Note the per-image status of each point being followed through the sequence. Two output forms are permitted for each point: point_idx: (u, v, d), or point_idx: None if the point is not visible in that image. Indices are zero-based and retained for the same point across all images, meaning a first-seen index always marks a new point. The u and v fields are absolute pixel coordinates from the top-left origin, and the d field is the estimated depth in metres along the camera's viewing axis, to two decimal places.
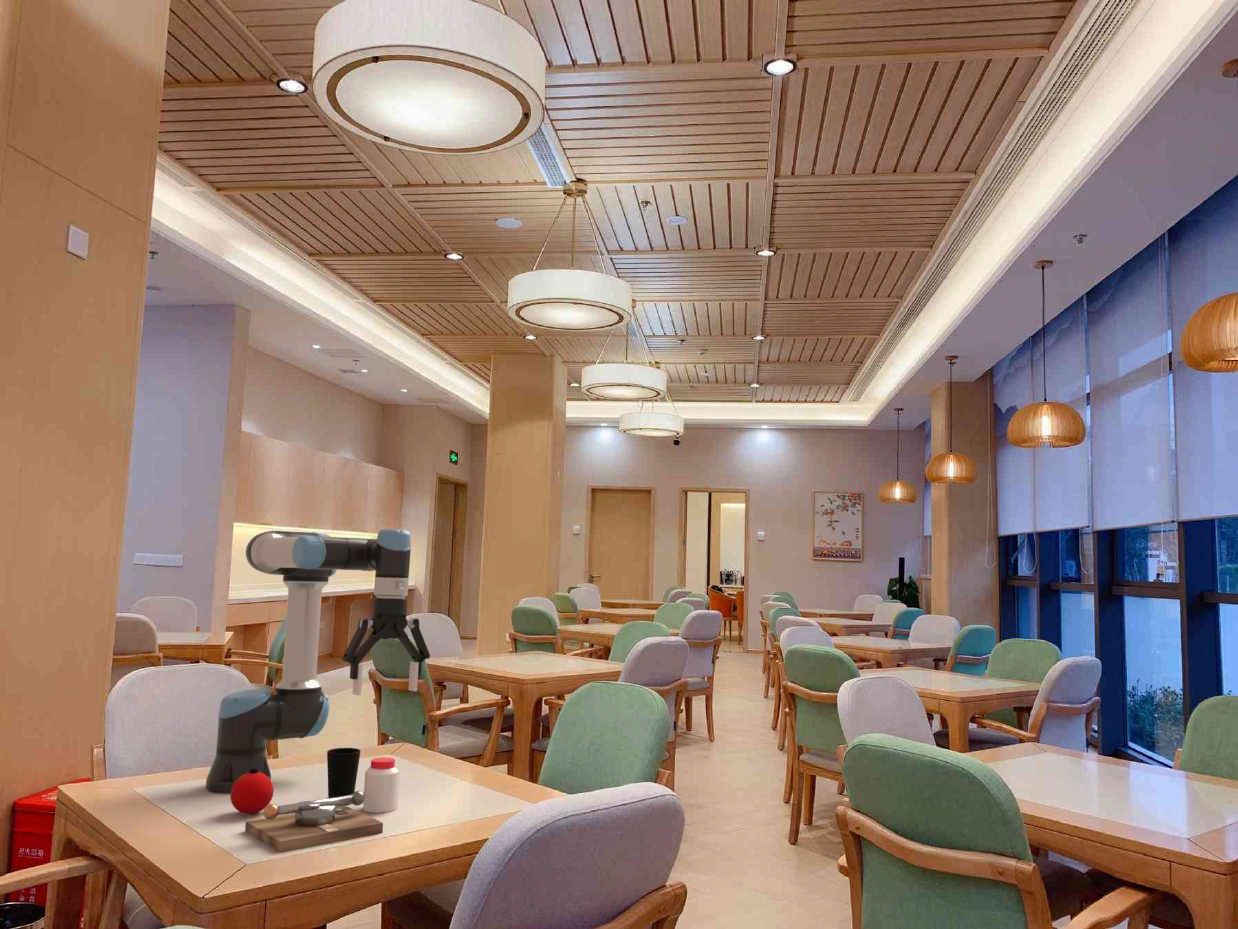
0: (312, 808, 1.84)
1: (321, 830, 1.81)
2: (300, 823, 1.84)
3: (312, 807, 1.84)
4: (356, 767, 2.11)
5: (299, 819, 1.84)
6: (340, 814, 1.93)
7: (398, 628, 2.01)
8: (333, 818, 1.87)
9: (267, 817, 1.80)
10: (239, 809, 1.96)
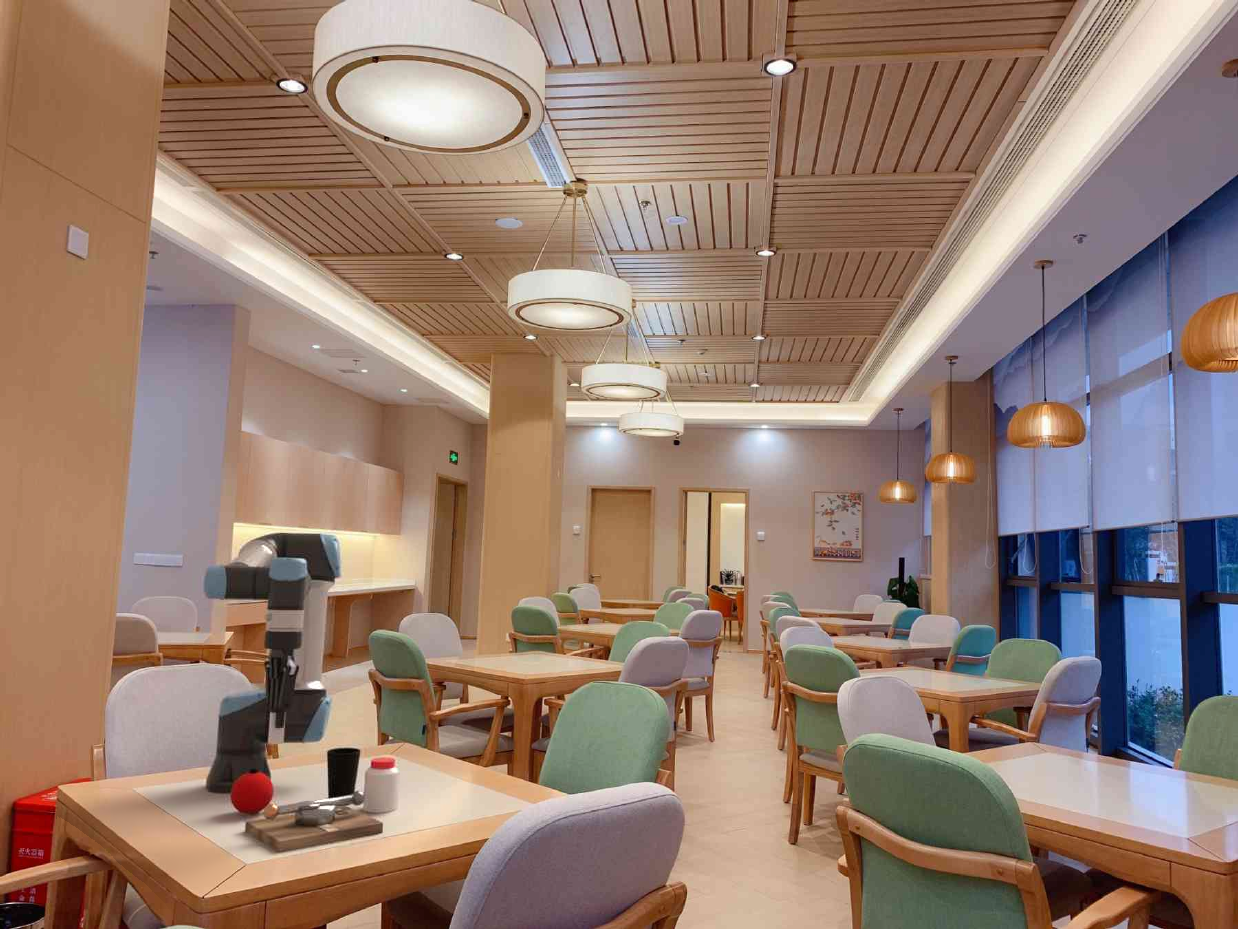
0: (312, 808, 1.84)
1: (321, 830, 1.81)
2: (300, 823, 1.84)
3: (312, 807, 1.84)
4: (356, 767, 2.11)
5: (299, 819, 1.84)
6: (340, 814, 1.93)
7: (274, 663, 1.88)
8: (333, 818, 1.87)
9: (267, 817, 1.80)
10: (239, 809, 1.96)
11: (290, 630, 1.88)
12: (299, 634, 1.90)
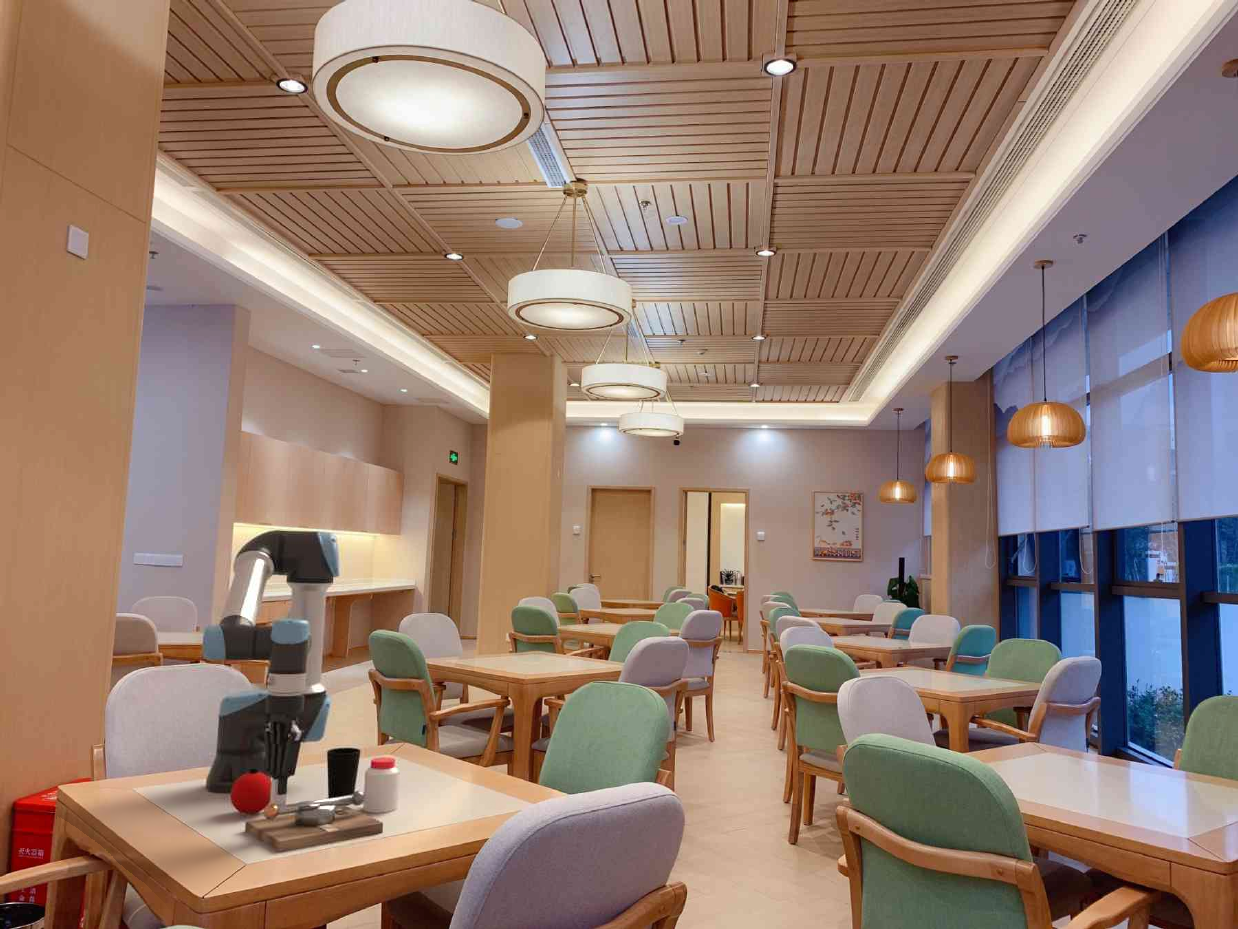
0: (312, 808, 1.84)
1: (321, 830, 1.81)
2: (300, 823, 1.84)
3: (312, 807, 1.84)
4: (356, 767, 2.11)
5: (299, 819, 1.84)
6: (340, 814, 1.93)
7: (277, 728, 1.84)
8: (333, 818, 1.87)
9: (267, 817, 1.80)
10: (239, 809, 1.96)
11: (294, 694, 1.85)
12: (302, 698, 1.87)
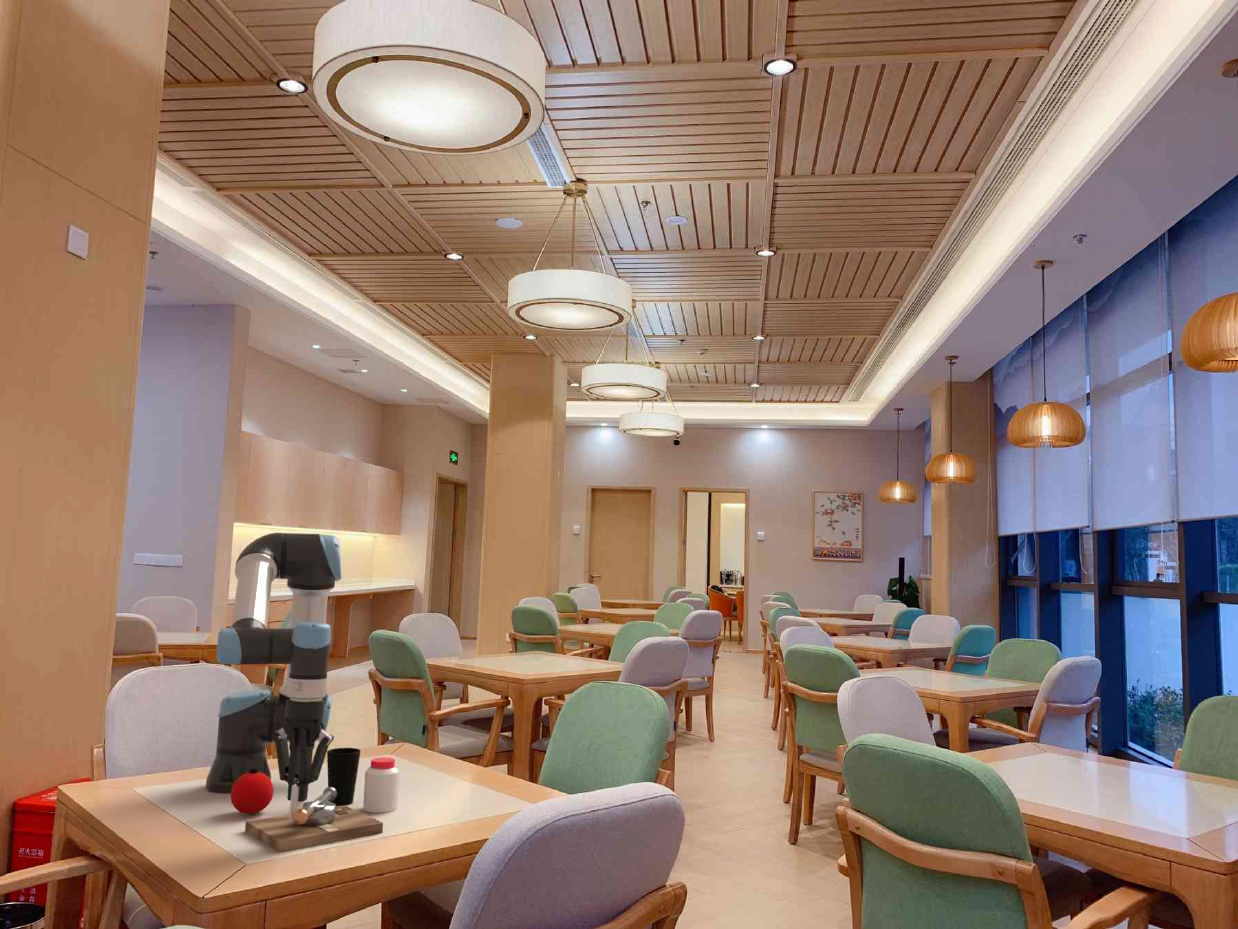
0: (325, 807, 1.86)
1: (321, 830, 1.81)
2: (315, 824, 1.83)
3: (324, 806, 1.86)
4: (356, 767, 2.11)
5: (314, 820, 1.83)
6: (340, 814, 1.93)
7: (302, 734, 1.80)
8: None
9: (302, 822, 1.77)
10: (239, 809, 1.96)
11: (320, 699, 1.83)
12: (324, 702, 1.84)
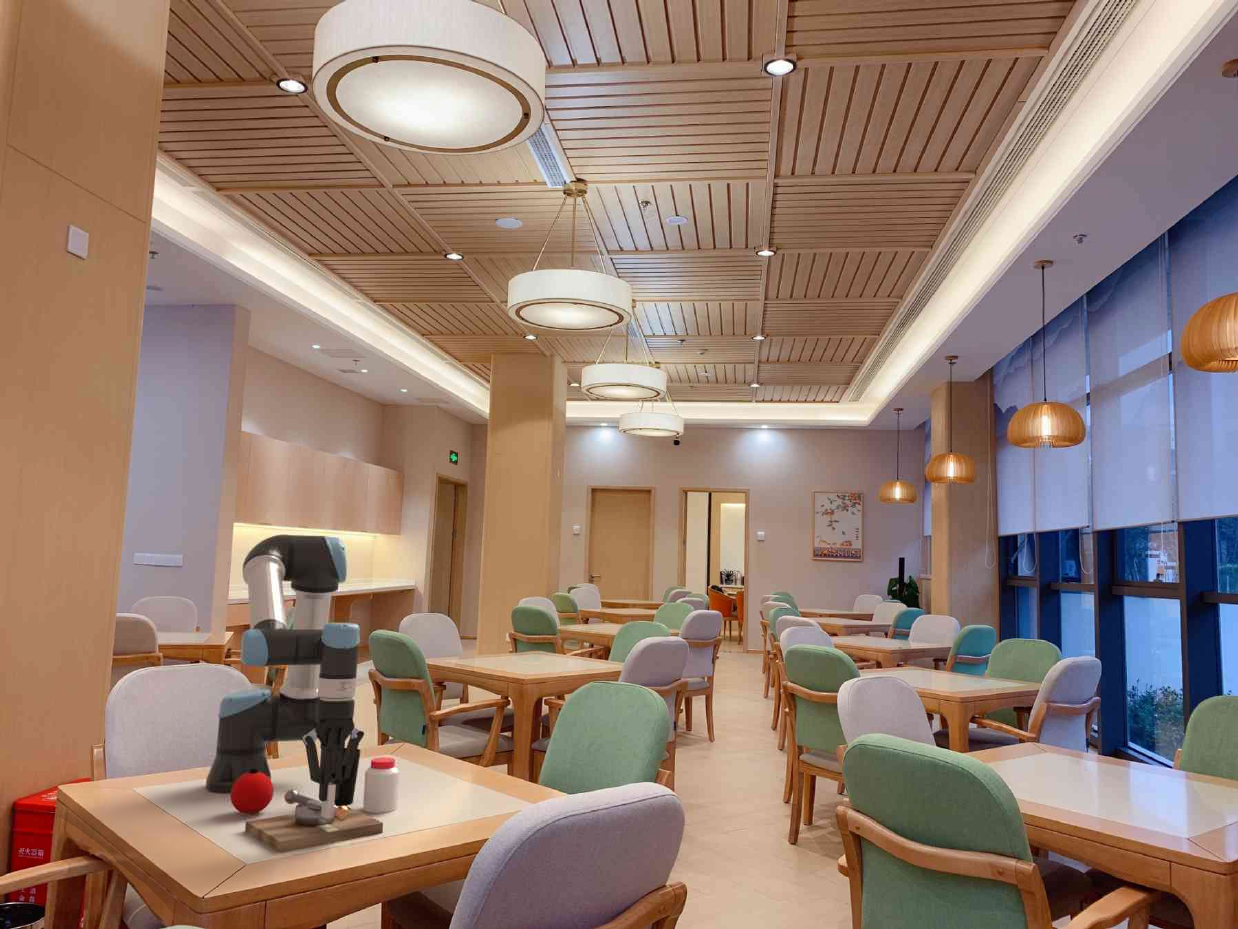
0: None
1: (321, 830, 1.81)
2: (330, 821, 1.86)
3: None
4: (356, 767, 2.11)
5: (329, 818, 1.85)
6: None
7: (342, 733, 1.83)
8: None
9: None
10: (239, 809, 1.96)
11: None
12: None
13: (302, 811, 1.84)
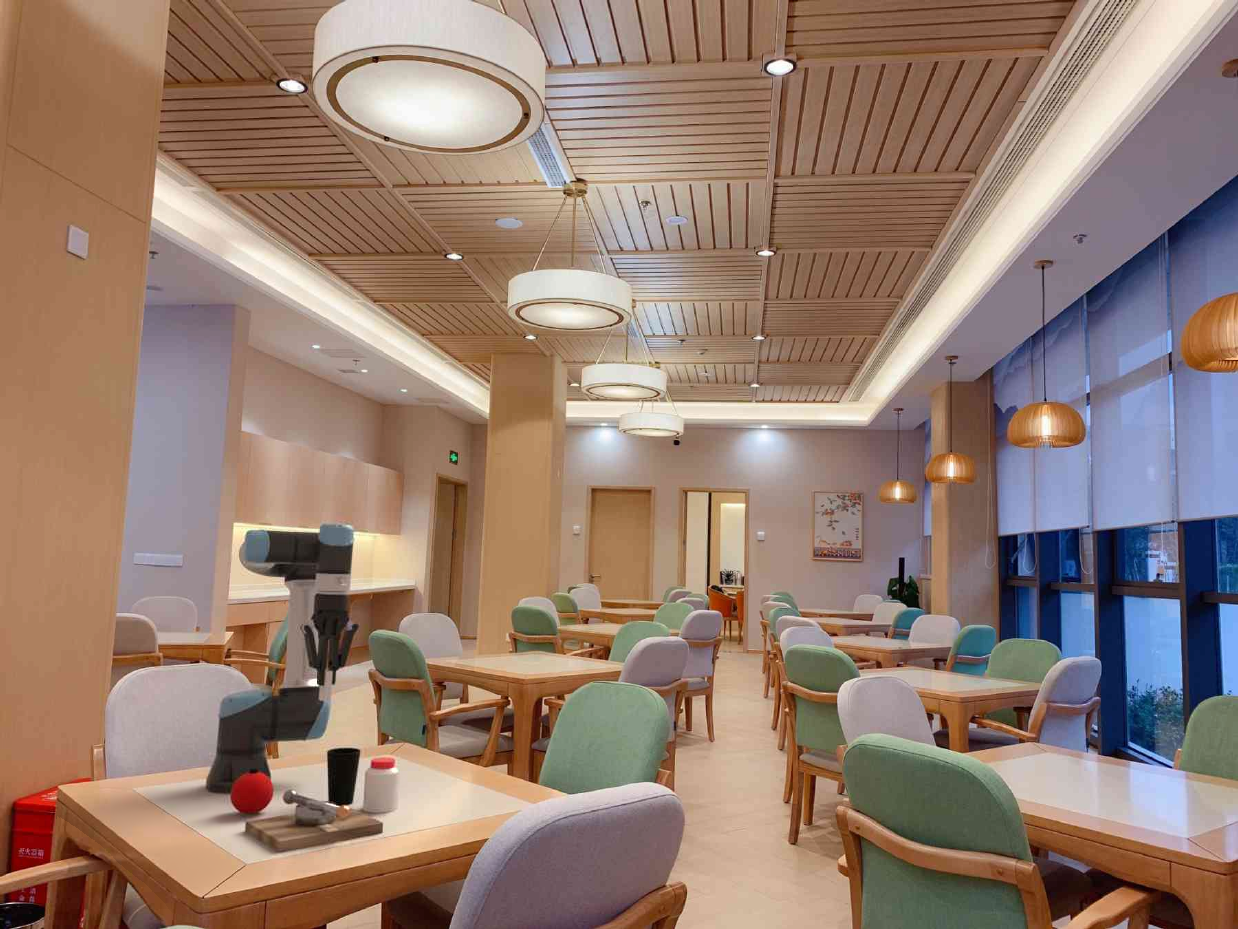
0: None
1: (321, 830, 1.81)
2: (331, 821, 1.86)
3: None
4: (356, 767, 2.11)
5: (330, 817, 1.86)
6: None
7: (338, 624, 1.98)
8: None
9: (348, 817, 1.82)
10: (239, 809, 1.96)
11: None
12: None
13: (302, 811, 1.84)
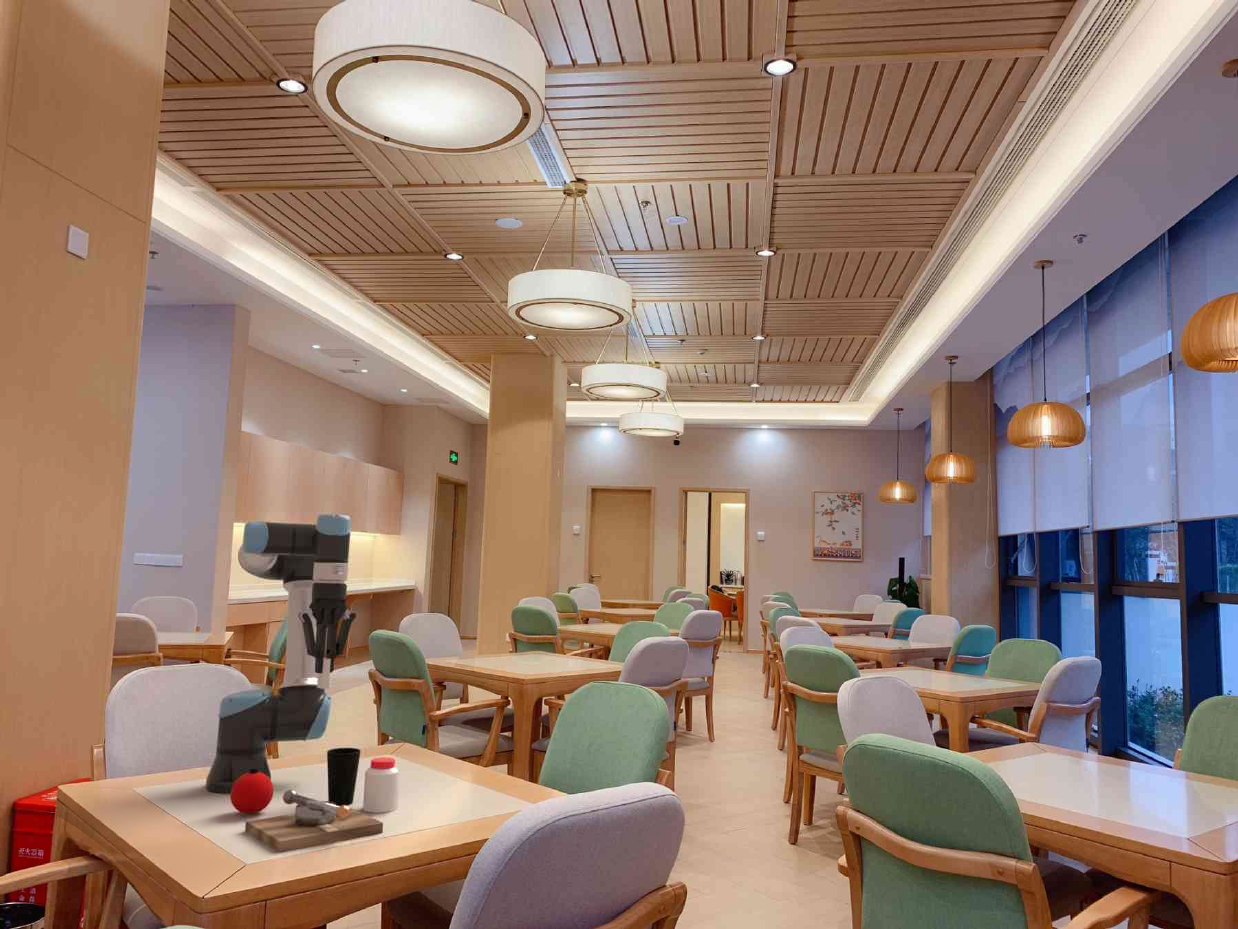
0: None
1: (321, 830, 1.81)
2: (331, 821, 1.86)
3: None
4: (356, 767, 2.11)
5: (330, 817, 1.86)
6: None
7: (336, 612, 2.01)
8: None
9: (348, 817, 1.82)
10: (239, 809, 1.96)
11: None
12: None
13: (302, 811, 1.84)
